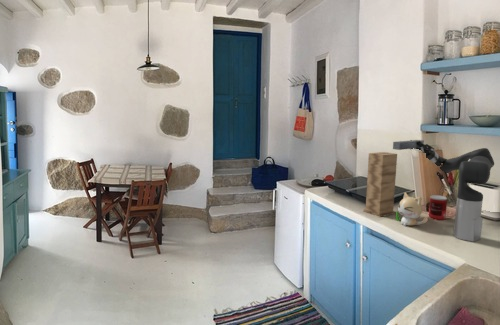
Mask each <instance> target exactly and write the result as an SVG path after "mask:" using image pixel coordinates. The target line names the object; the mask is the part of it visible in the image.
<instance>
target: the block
mask: <svg viewBox="0 0 500 325" xmlns="http://www.w3.org/2000/svg"><path fill="white" fill-rule="evenodd" d="M418 141H420V142H422V143H424V144H425V140H423V139H410V140H398V141H393V142H392V150H398V151H401V150H409V149H410V150H411V149H413V148H421V147H420V146H418V145H417V142H418Z"/></svg>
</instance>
